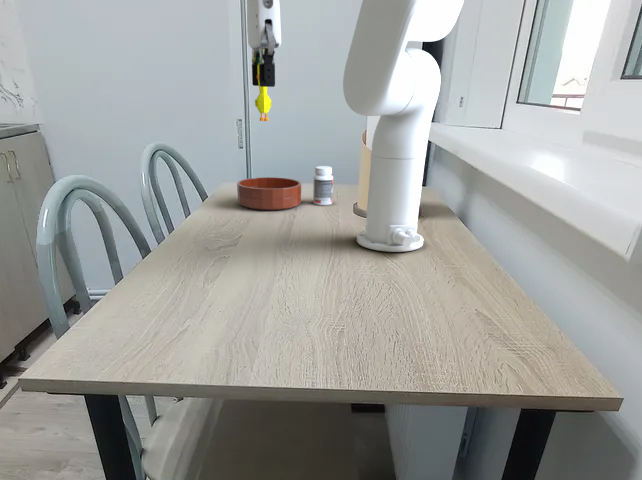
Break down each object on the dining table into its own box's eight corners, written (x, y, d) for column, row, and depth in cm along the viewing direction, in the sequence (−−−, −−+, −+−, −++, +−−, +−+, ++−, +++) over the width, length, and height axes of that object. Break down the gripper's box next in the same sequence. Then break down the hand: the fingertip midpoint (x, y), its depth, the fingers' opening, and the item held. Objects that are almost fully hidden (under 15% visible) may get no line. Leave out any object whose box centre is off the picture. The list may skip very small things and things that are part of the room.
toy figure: (273, 121, 113) (272, 55, 107) (256, 121, 112) (254, 55, 107) (271, 120, 119) (269, 58, 113) (255, 120, 118) (252, 58, 113)
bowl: (308, 209, 124) (309, 187, 122) (245, 213, 120) (244, 190, 118) (290, 196, 137) (290, 176, 134) (232, 199, 133) (231, 178, 130)
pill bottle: (335, 204, 129) (337, 168, 125) (317, 206, 128) (318, 169, 123) (327, 200, 133) (328, 165, 129) (310, 202, 131) (310, 166, 127)
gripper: (292, -26, 97) (292, 87, 106) (268, -14, 111) (270, 85, 120) (252, -28, 95) (255, 87, 104) (233, -16, 109) (237, 84, 118)
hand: (263, 85), depth 112 cm, fingers closed on toy figure, 5 cm apart
